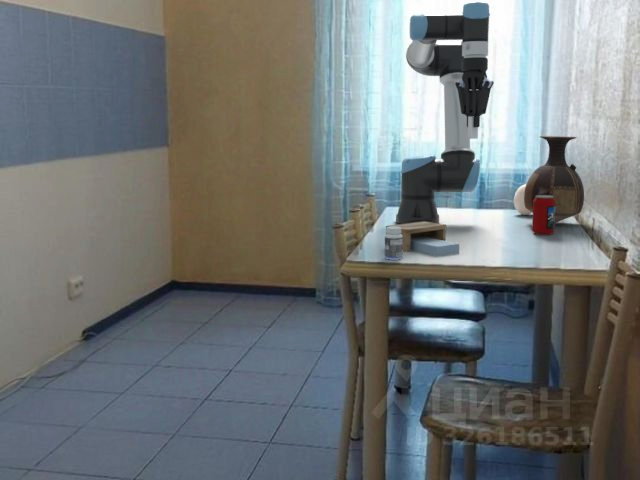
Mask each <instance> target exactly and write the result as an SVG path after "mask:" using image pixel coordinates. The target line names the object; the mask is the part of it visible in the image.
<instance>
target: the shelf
mask: <svg viewBox="0 0 640 480" xmlns="http://www.w3.org/2000/svg"><path fill="white" fill-rule="evenodd" d="M390 226H396V227H401V233H400V234H401V235H402V236H403V245H402V250H403V251H402V252H406V251H407V252H406V253H410V252H411V250H410V238H417V237H429V238H434V239H438V240H443V241H446V234H447V229H446V228H447V225H446V224H444V223H432V222H425V221H421V222H414V223H406V224H400V223H397V224H392V225H386V226H385V228H386V227H390ZM386 234H387V233H386V232H385V235H386Z"/></svg>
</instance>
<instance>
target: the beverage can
mask: <svg viewBox="0 0 640 480" xmlns="http://www.w3.org/2000/svg"><path fill="white" fill-rule="evenodd" d="M555 203H556V202H555V199H554V198H553V196H551V195H537V196H536V197H535V199H534V201H533V213H532V223H531V224H532V227H531V231H532V233H534V235H535V234H536V235H538V234H539V236H540V235H541V236H549V235H552V234H553V233H555V224H556V223H555Z"/></svg>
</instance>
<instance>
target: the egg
mask: <svg viewBox="0 0 640 480" xmlns="http://www.w3.org/2000/svg"><path fill="white" fill-rule="evenodd" d="M526 184H527V183H525V184H523V185H521V186H519V187H518V188H517V190H516V191H515V194H514V197H513V206H514V208H515V210H516V211H517V212H518V214H519V215H523V216H528V215H530V214H533V213H532V212H531V211H529V210H528V209H526V208H525V204H524V192H525V187H526Z"/></svg>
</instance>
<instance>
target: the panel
mask: <svg viewBox="0 0 640 480" xmlns="http://www.w3.org/2000/svg"><path fill="white" fill-rule="evenodd" d="M413 250H414V252H418V251H419V252H418V253H422V252H423V253H422V254H426V255H430V254H431V255H430V256H434V255H435V257H439V256H440V255H441V256H447V255H448V254H449V255H456V254H460V243H456V242H453V241H447V240H445V241H443V240H438V239H434V238H429V237H417V238H410V251H413ZM455 253H456V254H455ZM449 255H448V256H449Z"/></svg>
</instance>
